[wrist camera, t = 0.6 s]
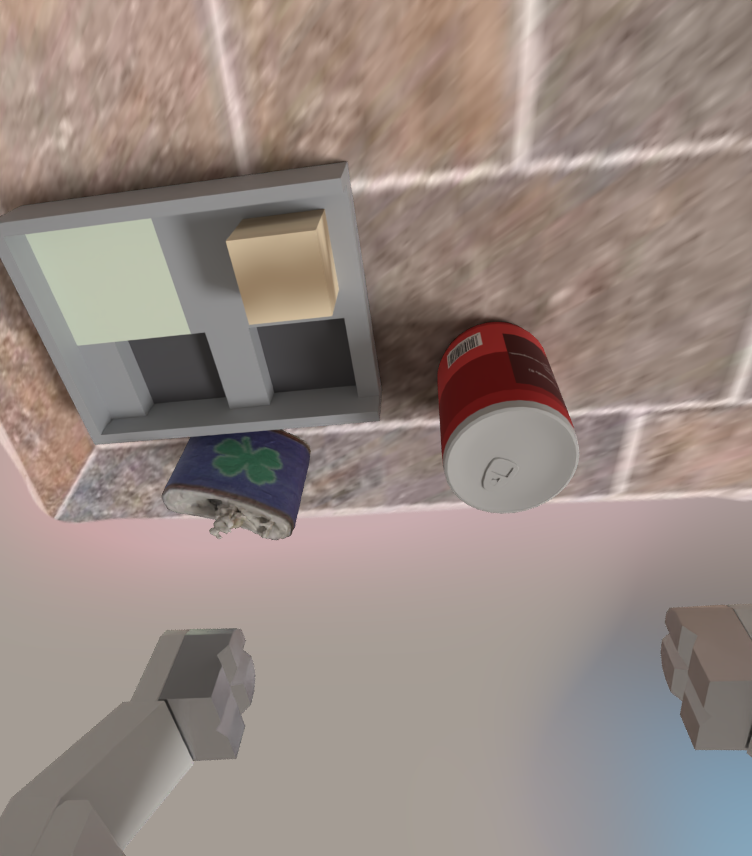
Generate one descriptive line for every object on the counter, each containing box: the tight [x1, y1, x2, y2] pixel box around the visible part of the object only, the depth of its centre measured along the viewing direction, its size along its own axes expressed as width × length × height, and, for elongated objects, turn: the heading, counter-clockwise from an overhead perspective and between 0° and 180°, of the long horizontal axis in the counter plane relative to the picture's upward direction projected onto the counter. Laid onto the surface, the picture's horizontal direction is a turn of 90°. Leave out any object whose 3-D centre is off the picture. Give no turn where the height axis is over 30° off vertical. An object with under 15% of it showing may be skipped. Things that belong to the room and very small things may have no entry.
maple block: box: [226, 209, 339, 325], centre depth 35 cm, size 5×5×4 cm
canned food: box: [438, 322, 579, 513], centre depth 39 cm, size 8×8×11 cm
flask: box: [162, 429, 311, 540], centre depth 43 cm, size 9×3×11 cm, turn 71°
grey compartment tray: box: [0, 162, 382, 445], centre depth 40 cm, size 16×21×4 cm
